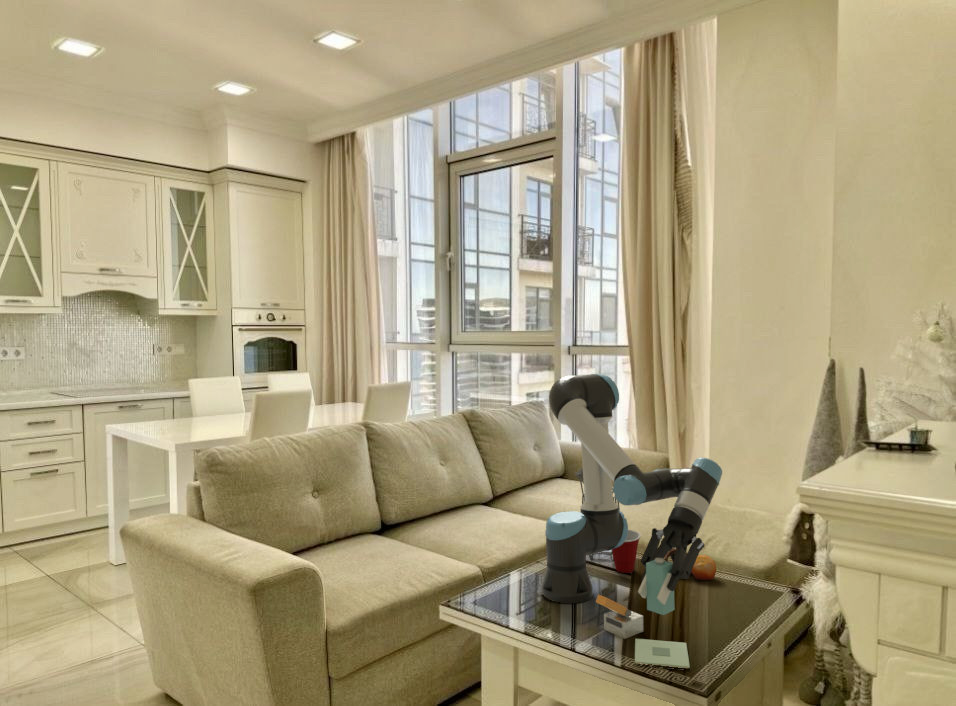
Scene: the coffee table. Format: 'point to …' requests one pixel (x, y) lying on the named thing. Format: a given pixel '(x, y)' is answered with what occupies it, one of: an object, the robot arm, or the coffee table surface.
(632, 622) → the box
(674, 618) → the coffee table surface
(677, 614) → the coffee table surface
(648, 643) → the pad
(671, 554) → the pottery mug
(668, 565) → the teal tall block
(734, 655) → the coffee table surface
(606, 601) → the lever
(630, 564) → the plastic cup
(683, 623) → the coffee table surface
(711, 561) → the fruit
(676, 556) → the robot arm
